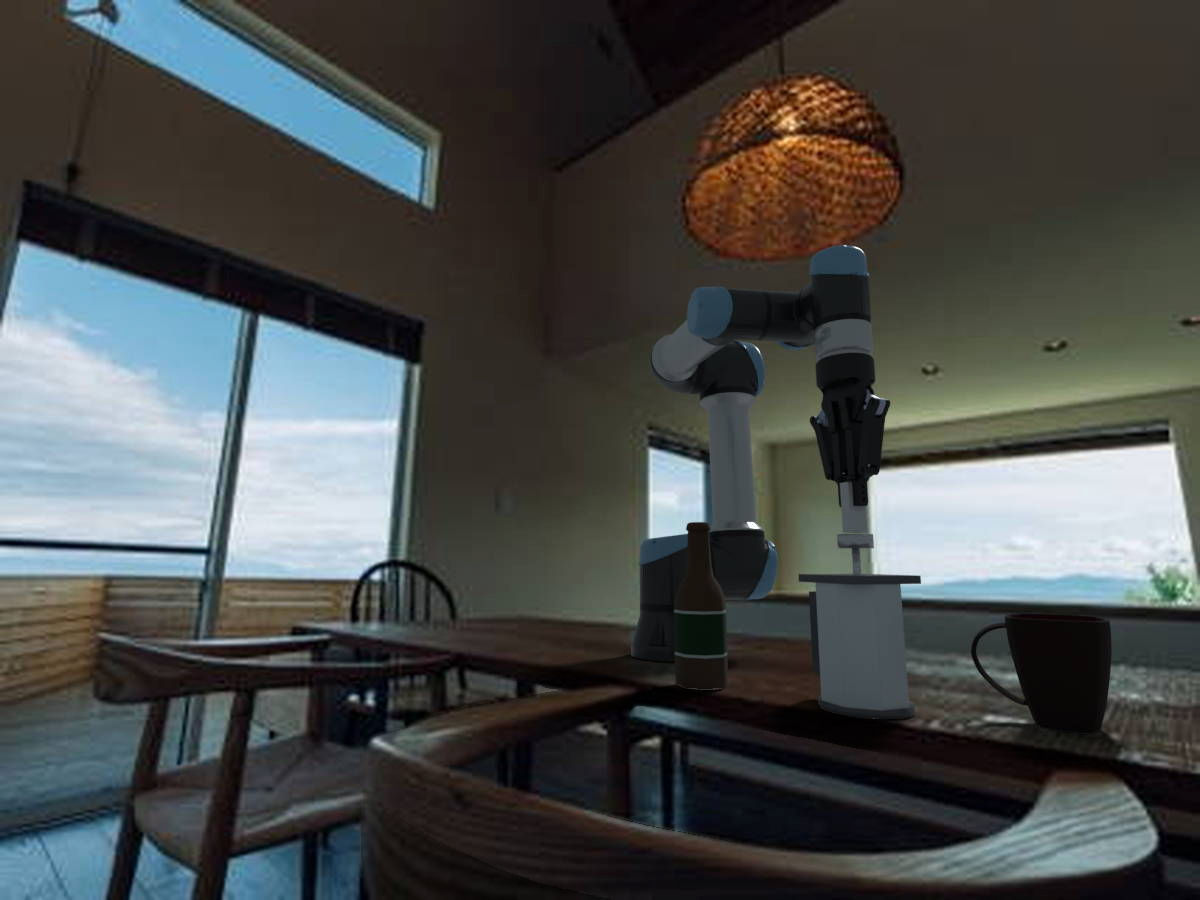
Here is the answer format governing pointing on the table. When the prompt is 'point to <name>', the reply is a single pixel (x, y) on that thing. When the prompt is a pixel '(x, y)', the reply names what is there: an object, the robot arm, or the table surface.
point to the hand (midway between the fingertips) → (855, 532)
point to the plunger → (855, 547)
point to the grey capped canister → (860, 644)
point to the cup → (1058, 668)
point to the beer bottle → (700, 618)
